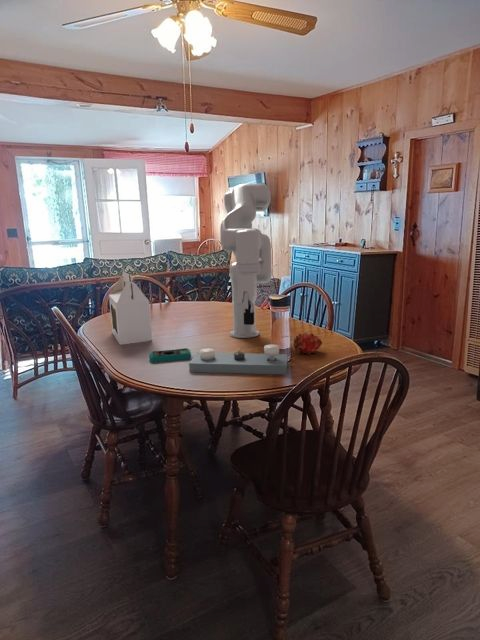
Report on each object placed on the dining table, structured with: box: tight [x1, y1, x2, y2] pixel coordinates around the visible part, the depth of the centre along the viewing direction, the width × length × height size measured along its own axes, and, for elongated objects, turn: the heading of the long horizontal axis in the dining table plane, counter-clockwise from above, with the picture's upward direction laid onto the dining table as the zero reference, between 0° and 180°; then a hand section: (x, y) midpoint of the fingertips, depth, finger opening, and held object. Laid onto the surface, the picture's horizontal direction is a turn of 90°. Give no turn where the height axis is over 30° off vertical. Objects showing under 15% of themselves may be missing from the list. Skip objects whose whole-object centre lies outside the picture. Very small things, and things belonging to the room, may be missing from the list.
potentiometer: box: [233, 348, 245, 360], centre depth 153 cm, size 4×4×3 cm
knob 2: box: [263, 343, 280, 361], centre depth 152 cm, size 5×5×6 cm
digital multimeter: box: [148, 347, 192, 364], centre depth 166 cm, size 7×15×3 cm, turn 103°
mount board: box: [188, 352, 289, 375], centre depth 154 cm, size 12×32×3 cm, turn 82°
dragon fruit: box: [293, 332, 323, 355], centre depth 167 cm, size 8×8×12 cm
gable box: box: [108, 270, 153, 346], centre depth 193 cm, size 22×13×28 cm, turn 23°
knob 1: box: [199, 347, 216, 360], centre depth 155 cm, size 5×5×6 cm
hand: (249, 323), depth 150 cm, fingers closed
